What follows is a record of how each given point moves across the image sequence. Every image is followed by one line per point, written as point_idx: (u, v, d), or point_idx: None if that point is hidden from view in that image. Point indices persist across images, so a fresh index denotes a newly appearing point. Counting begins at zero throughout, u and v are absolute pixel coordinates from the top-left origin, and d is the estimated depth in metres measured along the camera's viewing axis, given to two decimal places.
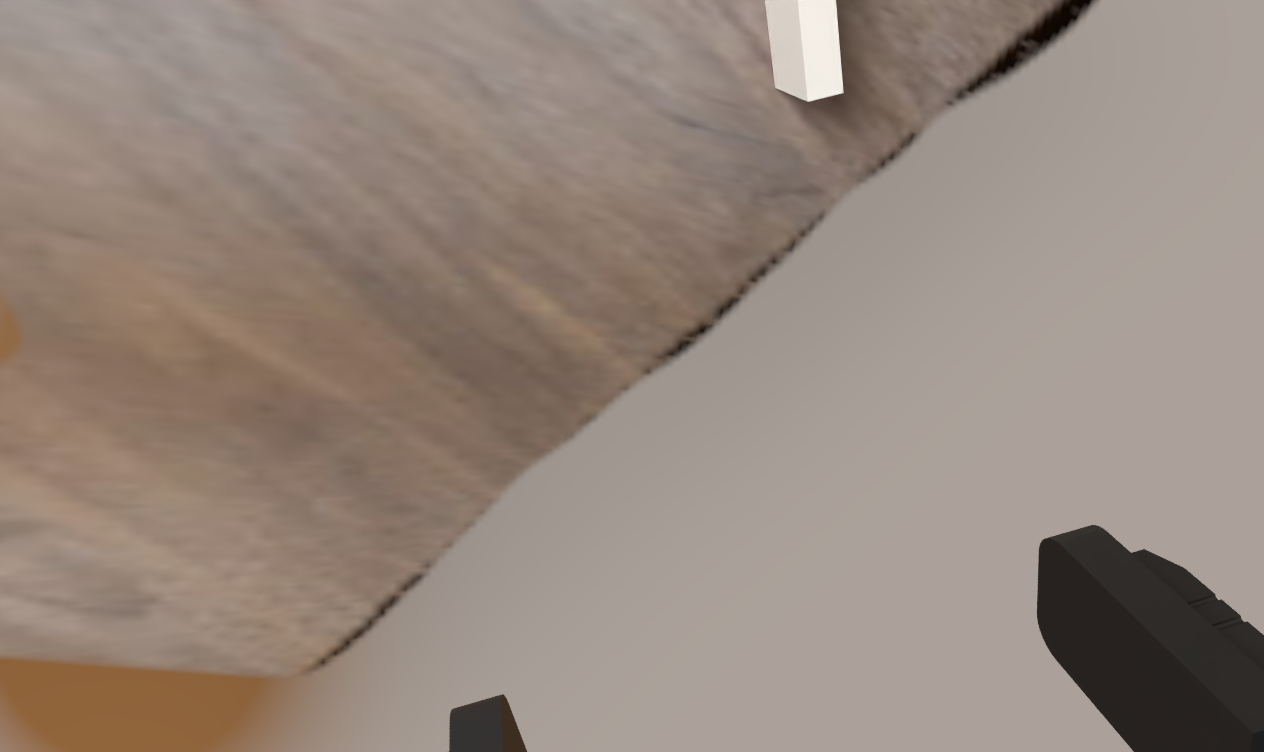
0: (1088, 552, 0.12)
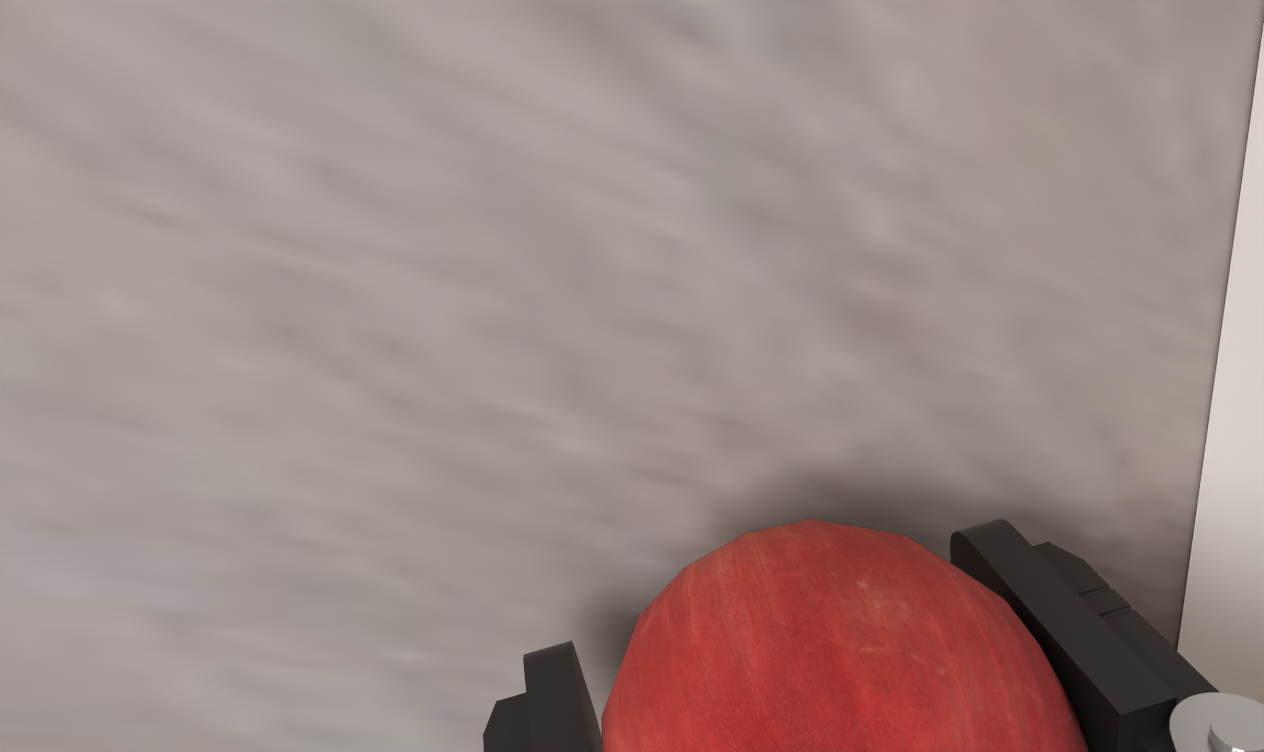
0: (991, 544, 0.12)
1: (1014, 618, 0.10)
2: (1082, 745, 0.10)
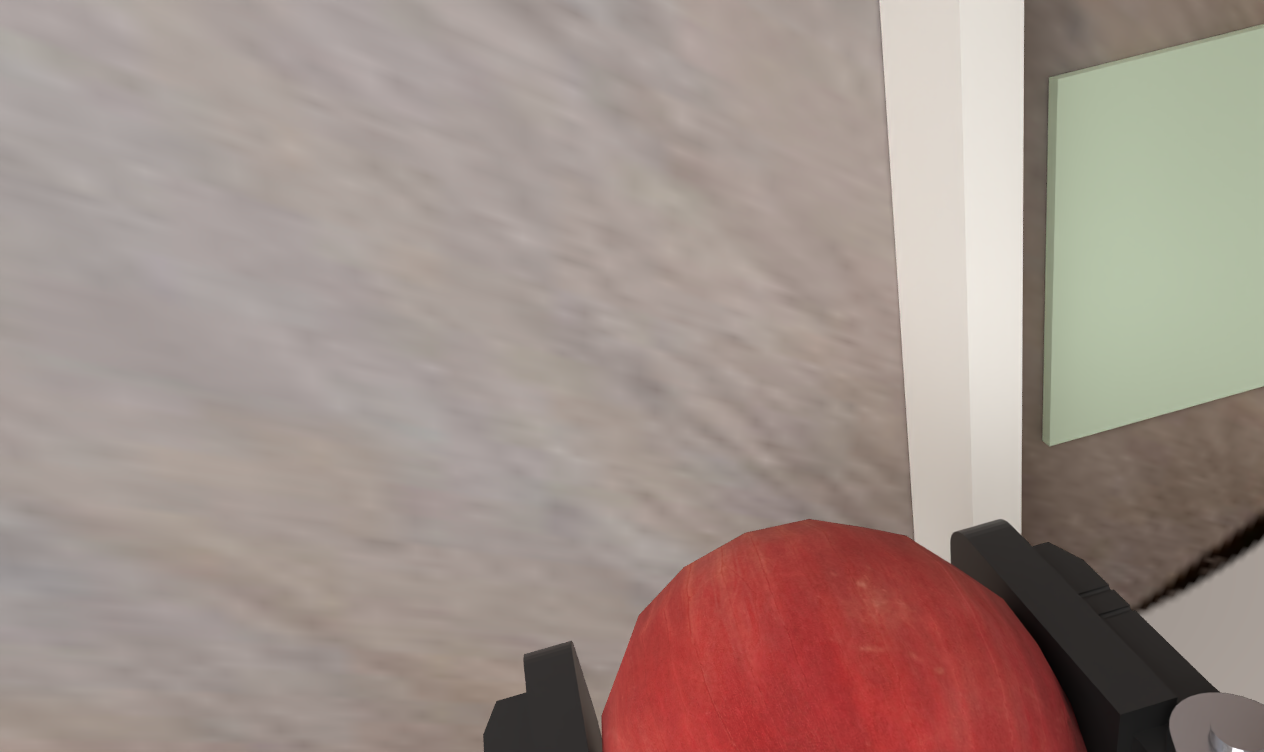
0: (991, 544, 0.12)
1: (1012, 617, 0.10)
2: (1080, 744, 0.10)
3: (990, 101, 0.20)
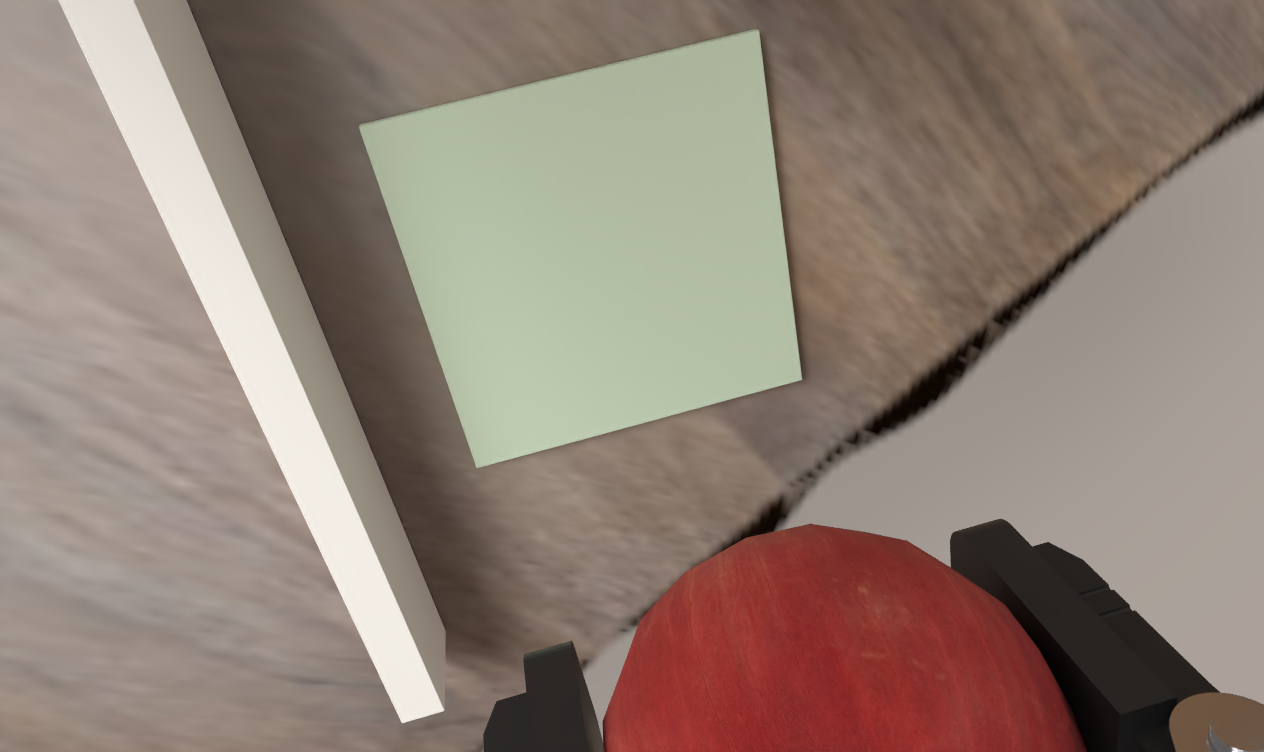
0: (991, 544, 0.12)
1: (1014, 623, 0.10)
2: (1081, 749, 0.10)
3: (166, 159, 0.21)
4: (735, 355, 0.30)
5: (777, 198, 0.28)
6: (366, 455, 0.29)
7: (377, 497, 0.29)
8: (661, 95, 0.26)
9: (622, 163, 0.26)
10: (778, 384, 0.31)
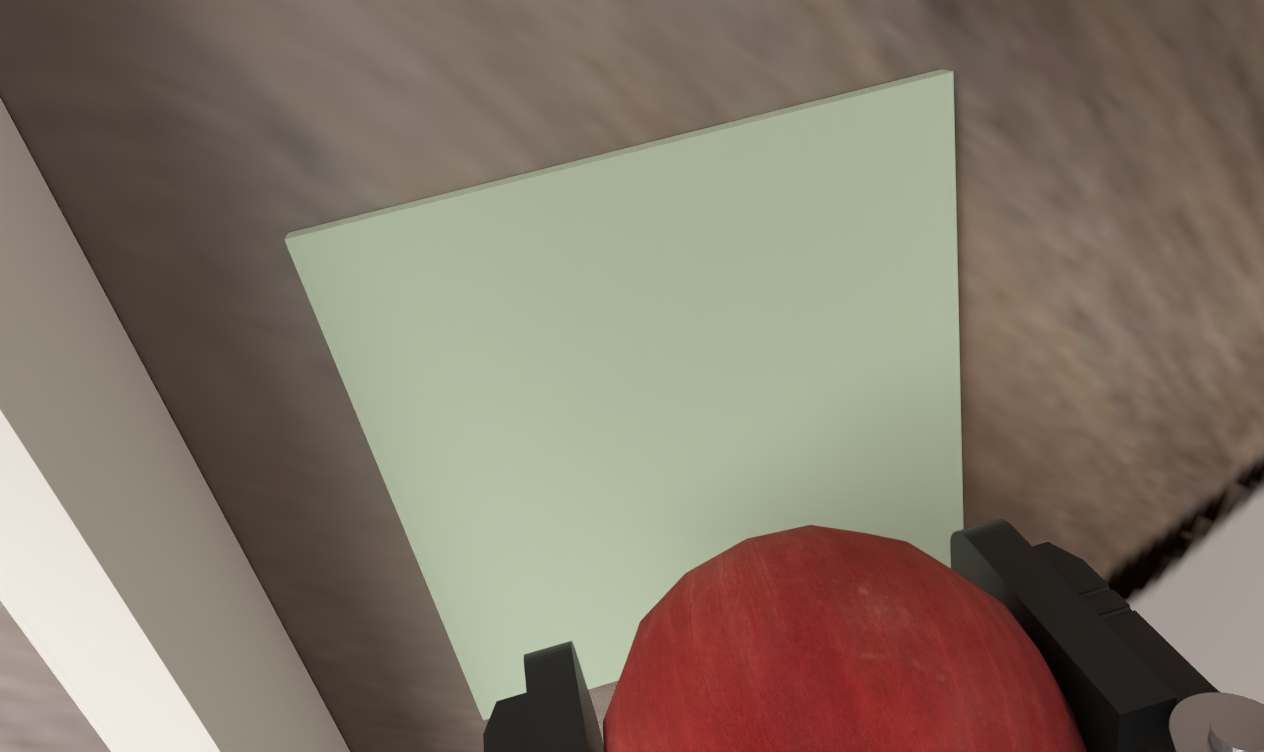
0: (991, 544, 0.12)
1: (1014, 624, 0.10)
2: (1082, 750, 0.10)
3: None
4: None
5: (955, 329, 0.18)
6: (313, 720, 0.19)
7: None
8: (788, 179, 0.16)
9: (720, 285, 0.16)
10: None
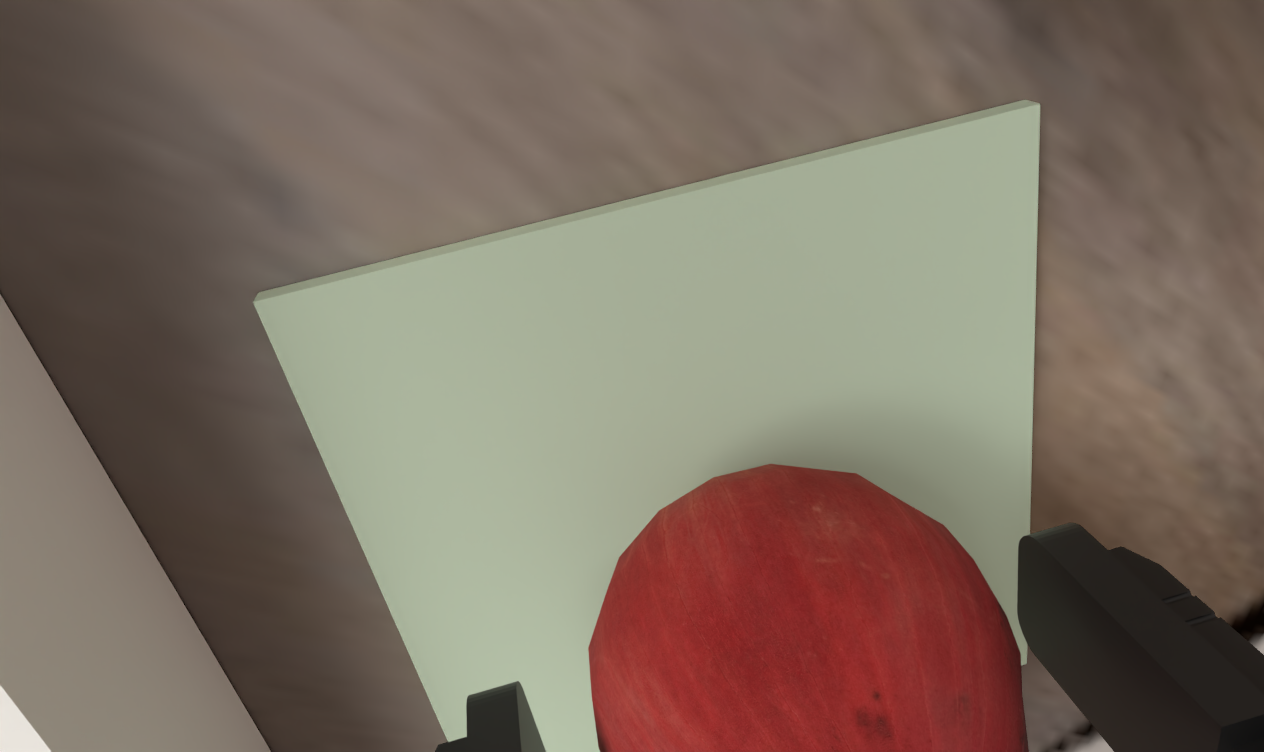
0: (1066, 549, 0.12)
1: (952, 538, 0.12)
2: (1013, 644, 0.11)
3: None
4: None
5: (1029, 394, 0.15)
6: None
7: None
8: (845, 228, 0.13)
9: (763, 349, 0.14)
10: None
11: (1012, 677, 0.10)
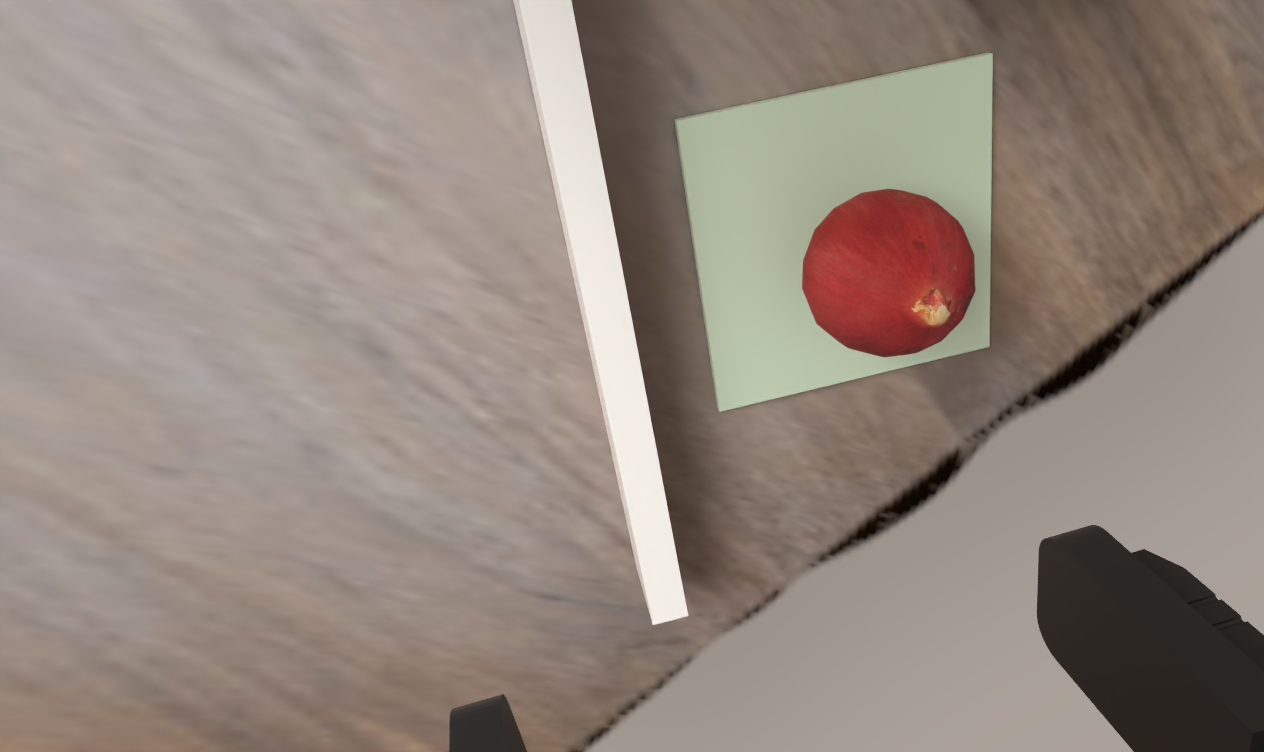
0: (1088, 552, 0.12)
1: None
2: (971, 248, 0.29)
3: (571, 138, 0.27)
4: None
5: (989, 191, 0.34)
6: None
7: None
8: (910, 104, 0.32)
9: (873, 158, 0.33)
10: (970, 350, 0.37)
11: (969, 252, 0.29)
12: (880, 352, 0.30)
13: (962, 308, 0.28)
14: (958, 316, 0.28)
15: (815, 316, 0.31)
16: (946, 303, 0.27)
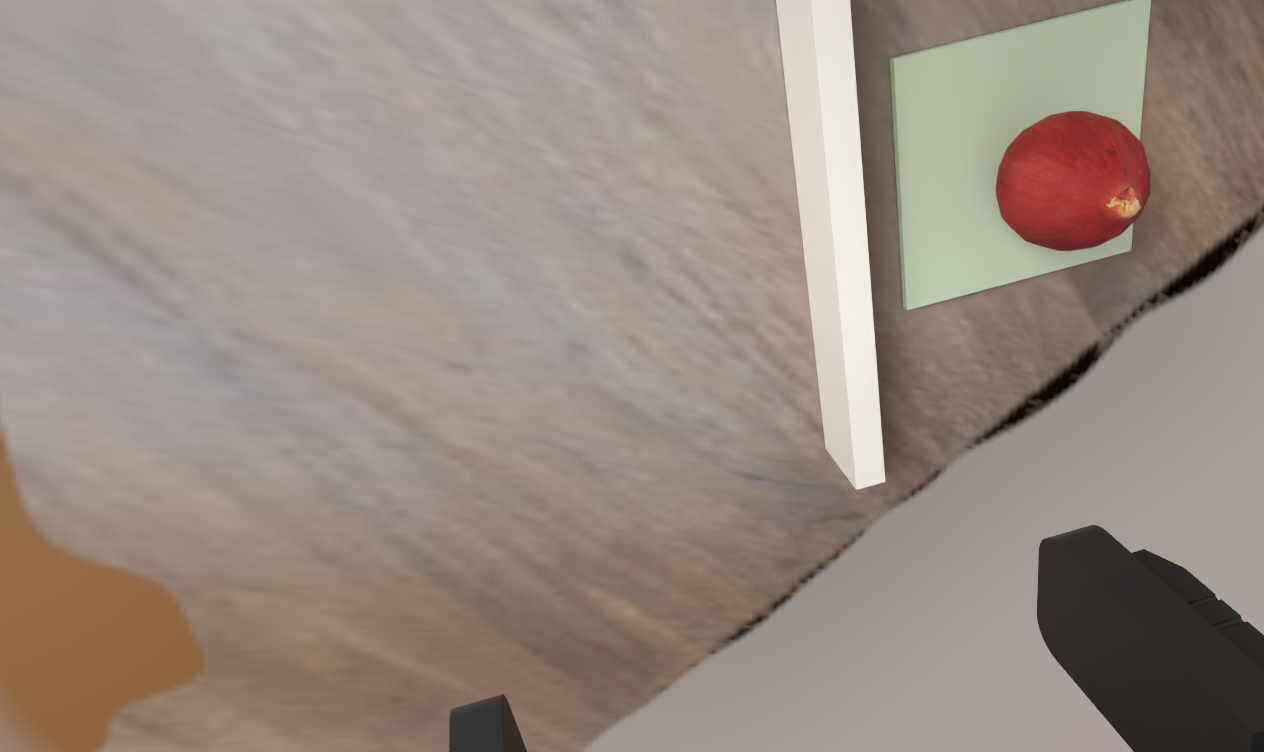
0: (1088, 552, 0.12)
1: None
2: None
3: (835, 72, 0.33)
4: None
5: (1140, 114, 0.40)
6: None
7: None
8: (1081, 40, 0.38)
9: (1048, 87, 0.39)
10: (1114, 253, 0.43)
11: None
12: (1069, 245, 0.36)
13: (1143, 205, 0.35)
14: (1140, 211, 0.35)
15: (1010, 219, 0.37)
16: (1138, 198, 0.33)
